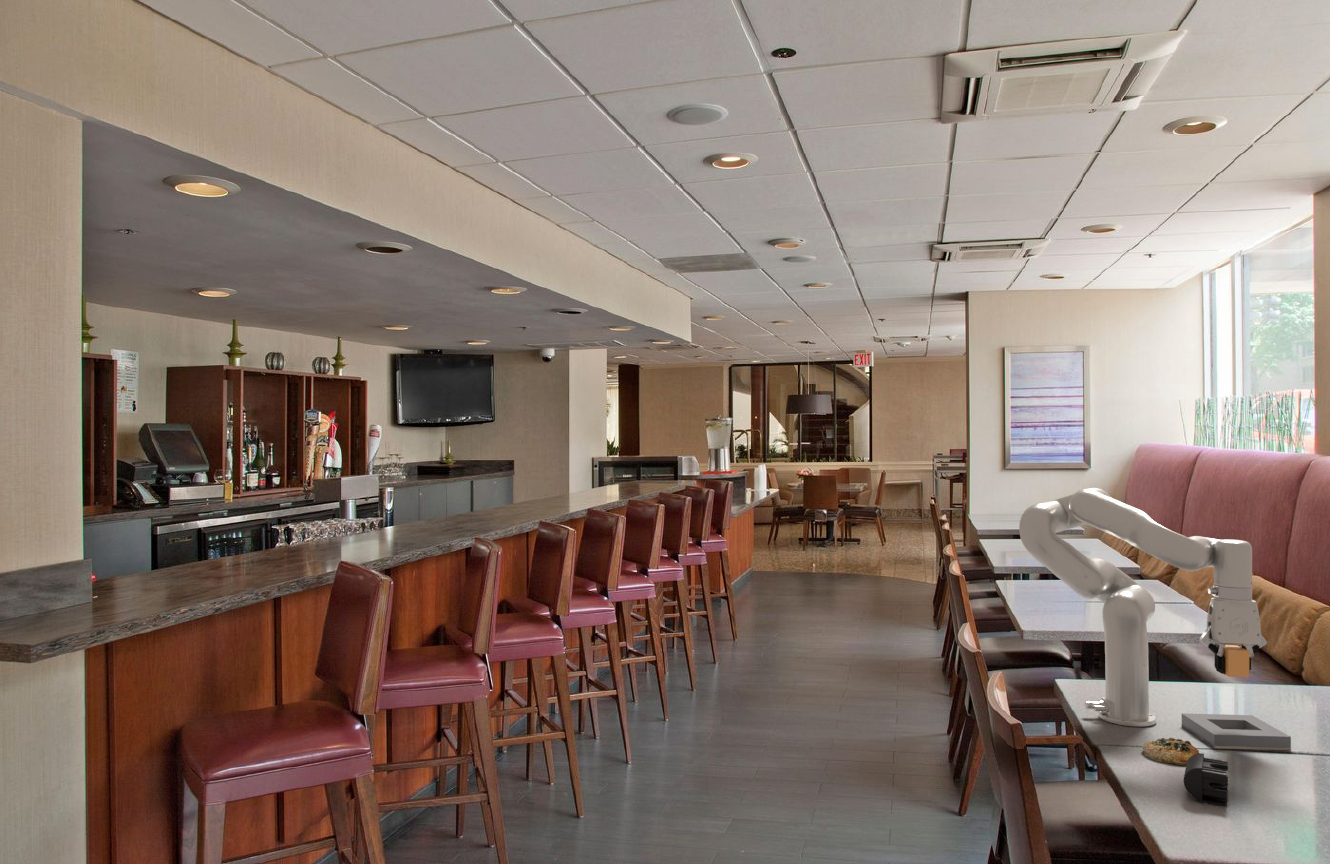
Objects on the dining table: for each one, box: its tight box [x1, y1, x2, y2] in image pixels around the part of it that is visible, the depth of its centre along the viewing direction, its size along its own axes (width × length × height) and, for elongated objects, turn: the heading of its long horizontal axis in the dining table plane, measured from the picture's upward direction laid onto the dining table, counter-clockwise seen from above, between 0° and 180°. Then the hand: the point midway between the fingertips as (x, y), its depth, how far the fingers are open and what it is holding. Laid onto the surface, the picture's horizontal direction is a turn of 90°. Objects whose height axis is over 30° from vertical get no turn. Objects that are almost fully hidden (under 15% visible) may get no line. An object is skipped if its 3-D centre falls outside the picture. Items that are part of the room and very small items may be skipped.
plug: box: [1223, 644, 1250, 678], centre depth 212 cm, size 4×6×6 cm
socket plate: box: [1181, 713, 1292, 751], centre depth 212 cm, size 16×16×3 cm
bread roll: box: [1141, 737, 1200, 766], centre depth 199 cm, size 11×11×5 cm
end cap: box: [1183, 752, 1229, 808], centre depth 177 cm, size 10×7×7 cm
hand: (1232, 672), depth 212 cm, fingers closed on plug, 4 cm apart
